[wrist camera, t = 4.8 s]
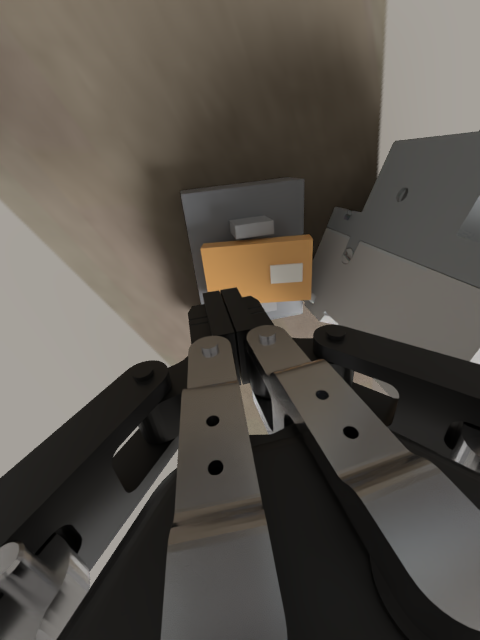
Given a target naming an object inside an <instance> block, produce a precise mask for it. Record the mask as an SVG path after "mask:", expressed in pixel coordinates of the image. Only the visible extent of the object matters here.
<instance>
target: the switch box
mask: <svg viewBox="0 0 480 640" xmlns="http://www.w3.org/2000/svg"><path fill="white" fill-rule="evenodd" d="M180 194H181V200H182V205H183V210H184V216H185V221H186V227H187V232H188V237H189V243H190V248H191V254H192V259H193V264H194V270H195V275H196V280H197V286H198V291H199V297H200V302H201V305H202V304H204V300H203V294H202V293H206V292H208V291H207V285H206V279H205V273H204V267H203V261H202V255H201V249H200V248H201V247H202V245H203V243H214V242H226V241H238V240H249V239H257V238H273V237H284V236H296V235H304V179H301V178H291V177H286V178H278V179H270V180H262V181H254V182H246V183H238V184H230V185H222V186H213V187H205V188H197V189H189V190H181V191H180ZM260 304H261V305H262V307H263V308H264V310H265V312H266V313H267V315H268V316H269V318H270V320H272V319H277V318H283V317H288V316H293V315H298V314H302V313H303V300H301V301H285V302H270V303H260Z"/></svg>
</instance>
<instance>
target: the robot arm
mask: <svg viewBox="0 0 480 640" xmlns="http://www.w3.org/2000/svg"><path fill="white" fill-rule="evenodd" d="M202 294H203V300H204V304H202V305H197V306H192V308H191V309H190V311H189V312H188V318H189V326H190V335H191V344H192V345H191V346H190V348H189V352H188V356H187V357H186V358H185V359H184V360H183V361H181V362H179V363H177V364H175V365H173V366H171V367H169V368H167V366H166V365H165V364H164V363H163V362H160V361H145V362H141V363H138V364H136V365H134V366H132V367H131V368H129V369H128V370H127V371H125V372H124V373H123V374H122V375H121V376H120V377H118V378H117V379H116V380H115V381H114V382H113V383H112V384H110V385H109V386H108V387H107V388H106V389H104V390H103V391H102V392H101V393H100V394H99V395H97V396H96V397H95V398H94V399H93V400H91V401H90V402H89V403H88V404H87V405H86V406H85V407H83V408H82V409H81V410H80V411H79V412H77V413H76V414H75V415H74V416H73V417H72V418H70V419H69V420H68V421H67V422H66V423H64V424H63V425H62V426H61V427H60V428H59V429H57V430H56V431H55V432H54V433H53V434H52V435H51V436H49V437H48V438H47V439H46V440H45V441H44V442H42V443H41V444H40V445H39V446H38V447H36V448H35V449H34V450H33V451H32V452H30V453H29V454H28V455H27V456H26V457H25V458H24V459H22V460H21V461H20V462H19V463H18V464H16V465H15V466H14V467H13V468H12V469H11V470H9V471H8V472H7V473H6V474H5V475H4V476H2V477H1V478H0V640H480V364H477V363H473V362H470V361H466V360H463V359H459V358H456V357H452V356H448V355H445V354H441V353H438V352H434V351H431V350H427V349H424V348H420V347H417V346H413V345H409V344H406V343H402V342H399V341H395V340H392V339H388V338H385V337H381V336H378V335H374V334H370V333H367V332H363V331H360V330H356V329H353V328H349V327H346V326H342V325H325V326H322V327H319V328H318V329H316V330H315V332H314V335H313V338H291V336H290V335H289V334H288V333H287V332H286V331H285V330H284V329H283V328H281V327H278V326H274V324H273V323H272V321H271V320H270V318H269V316H268V315H267V313H266V312H265V310H264V308H263V307H262V305H261V304H260V302H259V300H257V299H256V298H254V297H252V296H246V297H242V296H241V294H240V292H239V290H238V289H237V287H234V288H229V289H223V290H220V292H219V290H218V291H212V292H206V293H202ZM354 371H356V372H358V373H361V374H364V375H367V376H369V377H372V378H375V379H377V380H380V381H383V382H386V383H388V384H390V385H392V386H393V387H394V388H395V389H396V390H397V391H398V393H399V398H392V397H390V396H387V395H384V394H382V393H379V392H377V391H374V390H372V389H369V388H367V387H364V386H362V385H359V384H357V383H354V382H353V376H354ZM240 377H241V380H242V383H243V384H247V383H250V385H251V387H252V396H253V401H254V403H255V405H256V407H257V410H258V412H259V414H260V416H261V418H262V421H263V423H264V425H265V427H266V429H267V432H268V434H269V435H249V432H248V427H247V422H246V417H245V412H244V406H243V401H242V396H241V391H240V386H239V385H241V380H240ZM137 426H138V427H139V429H138V430H137V431H136V432H135V434H134V435H133V436H132V437H131V438H130V439H129V440H128V442H126V444H125V445H124V446H123V447H122V448H121V449H120V450H119V451H118V452H117V454H116V455H115V456H114V453H115V452H116V450H117V448H118V447H119V446H120V445H121V444H122V443H123V442H124V441H125V439H126V438H127V437H128V436H129V435H130V434H131V433H132V431H134V430H135V428H136V427H137ZM177 449H178V464H177V468H176V469H175V470H174V471H173V472H171V473H170V474H169V475H168V476H167V477H166V478H165V479H164V480H163V481H162V482H161V484H160V485H159V486H158V487H157V489H156V490H155V491H154V492H153V494H152V495H151V497H150V498H149V500H148V501H147V503H146V504H145V506H144V508H143V509H142V510H141V512H140V513H139V515H138V517H137V518H136V520H135V521H134V523H133V524H132V526H131V527H130V529H129V530H128V532H127V533H126V535H125V536H124V538H123V539H122V541H121V542H120V544H119V545H118V547H117V548H116V550H115V551H114V553H113V554H112V556H111V558H110V559H109V560H108V562H107V564H106V565H105V566H104V568H103V570H102V571H101V573H100V574H99V576H98V577H97V579H96V580H95V582H94V583H93V585H92V586H91V588H90V589H89V586H90V573H89V572H90V570H91V569H92V568H93V566H94V565H95V563H96V562H97V561H98V559H99V558H100V556H101V555H102V554H103V552H104V551H105V550H106V548H107V547H108V545H109V544H110V542H111V541H112V540H113V538H114V537H115V536H116V534H117V533H118V531H119V530H120V529H121V527H122V526H123V524H124V523H125V522H126V520H127V519H128V517H129V516H130V515H131V513H132V512H133V511H134V509H135V508H136V506H137V505H138V503H139V502H140V501H141V499H142V498H143V497H144V495H145V494H146V492H147V491H148V490H149V488H150V487H151V486H152V484H153V483H154V481H155V480H156V479H157V477H158V475H159V474H160V473H161V472H162V470H163V469H164V467H165V466H166V465H167V463H168V462H169V460H170V459H171V458H172V456H173V455H174V453H175V452H176V451H177ZM113 456H114V457H113Z"/></svg>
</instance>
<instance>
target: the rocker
mask: <svg viewBox="0 0 480 640" xmlns="http://www.w3.org/2000/svg"><path fill="white" fill-rule="evenodd" d="M200 249H201V255H202V261H203V267H204V273H205V279H206V285H207V291H208V292H212V291H218V290H219V292H220V290H223V289H229V288H234V287H237V289H238V290H239V292H240V294H241V296H242V297H246V296H252V297H254V298H256V299H257V300H259V302H260V303H270V302H285V301H301V300H311V287H312V254H313V239H312V237H311V236H310V234H308V235H296V236H284V237H273V238H257V239H249V240H238V241H226V242H214V243H203V245H202V247H201V248H200Z"/></svg>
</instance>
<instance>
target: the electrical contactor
mask: <svg viewBox="0 0 480 640" xmlns="http://www.w3.org/2000/svg"><path fill="white" fill-rule="evenodd" d="M327 227H328V228H327ZM327 227H326V230H325V232H324V235H323V237H322V240H321V242H320V244H319V247H318V249H317V252H316V254H315V257H314V259H313V262H312V287H311V300H303V301H304V302H305V306H306V307H307V308H308V309H309V310H310V311H311V313H312V314H313V315H314V316H315V317H316V318H317V319H318V320H319V321H320V322H325V323H331V324H336V325H342V326H346V327H349V328H353V329H356V330H360V331H363V332H367V333H370V334H374V335H378V336H381V337H385V338H388V339H392V340H395V341H399V342H402V343H406V344H409V345H413V346H417V347H420V348H424V349H427V350H431V351H434V352H438V353H441V354H445V355H448V356H452V357H456V358H459V359H463V360H466V361H470V362H473V363H477V364H480V131H478V132H470V133H461V134H452V135H444V136H434V137H426V138H417V139H408V140H399V141H395V142H394V143H393V145H392V147H391V149H390V151H389V154H388V156H387V158H386V160H385V162H384V165H383V167H382V169H381V171H380V173H379V176H378V178H377V180H376V182H375V184H374V187H373V189H372V191H371V193H370V195H369V198H368V200H367V202H366V204H365V206H364V209H363V211H362V212H357V211H351V210H348V209H344V208H340V207H335V208H334V210H333V213H332V215H331V218H330V220H329V222H328V225H327ZM330 228H331V229H330ZM312 302H314V304H312ZM374 380H375V381H376V382H377V383H378V384H379V385H380V386H381V387H382V388H383V389H384V390H385V391H386V392H387V393H388V394H389V395H390V396H391V397H392V398H399V393H398V391H397V390H396V389H395V388H394V387H393V386H392V385H390V384H388V383H386V382H383V381H380V380H377V379H375V378H374Z"/></svg>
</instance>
